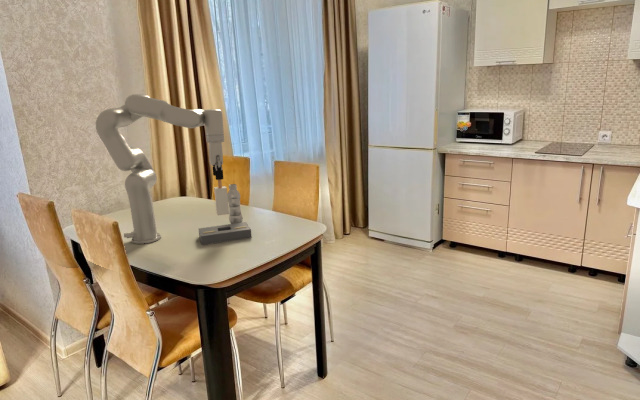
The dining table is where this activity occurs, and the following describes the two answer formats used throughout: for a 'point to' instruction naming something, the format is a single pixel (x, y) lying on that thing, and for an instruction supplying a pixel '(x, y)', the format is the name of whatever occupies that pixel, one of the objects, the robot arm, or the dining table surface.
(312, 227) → the dining table surface
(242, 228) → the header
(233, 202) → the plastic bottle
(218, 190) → the plug
